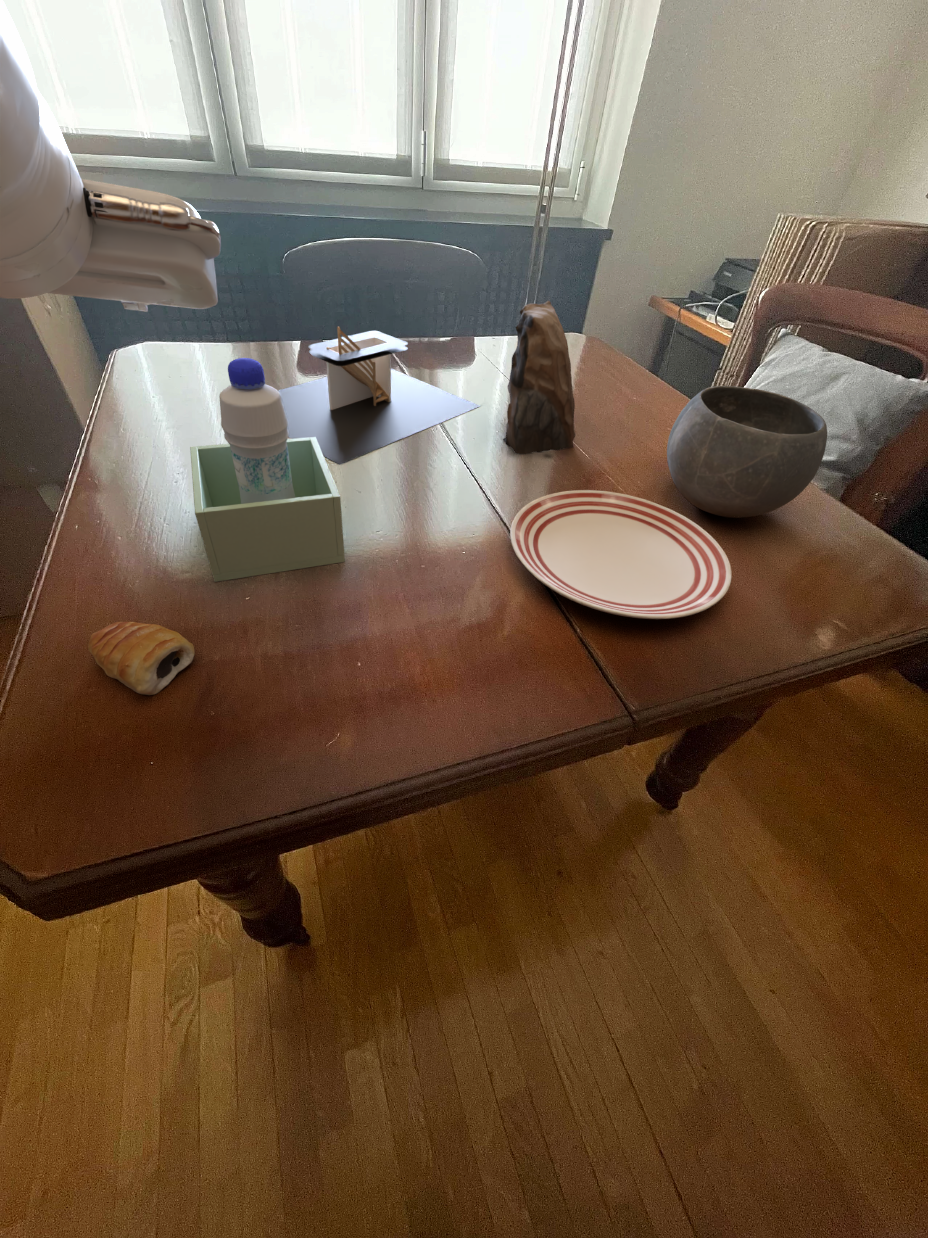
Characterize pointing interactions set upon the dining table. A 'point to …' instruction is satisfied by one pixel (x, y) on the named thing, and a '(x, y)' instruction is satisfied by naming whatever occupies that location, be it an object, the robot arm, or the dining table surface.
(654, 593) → the dinner plate
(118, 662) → the pastry
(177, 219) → the robot arm
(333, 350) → the architectural model
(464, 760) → the dining table surface
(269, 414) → the bottle
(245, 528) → the open storage bin
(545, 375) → the brown carved statue
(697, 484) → the bowl
